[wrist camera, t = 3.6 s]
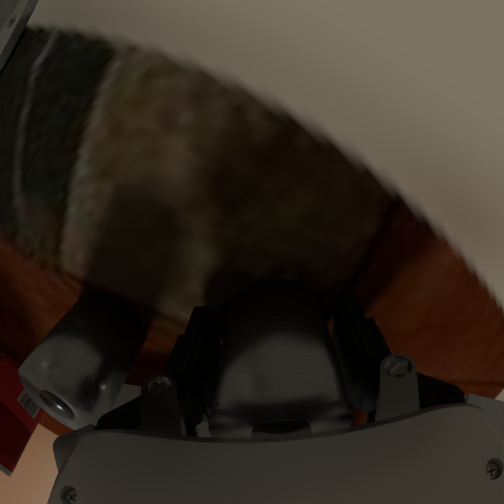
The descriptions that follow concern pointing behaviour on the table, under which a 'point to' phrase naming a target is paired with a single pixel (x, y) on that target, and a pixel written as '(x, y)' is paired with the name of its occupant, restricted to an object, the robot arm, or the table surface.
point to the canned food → (14, 414)
